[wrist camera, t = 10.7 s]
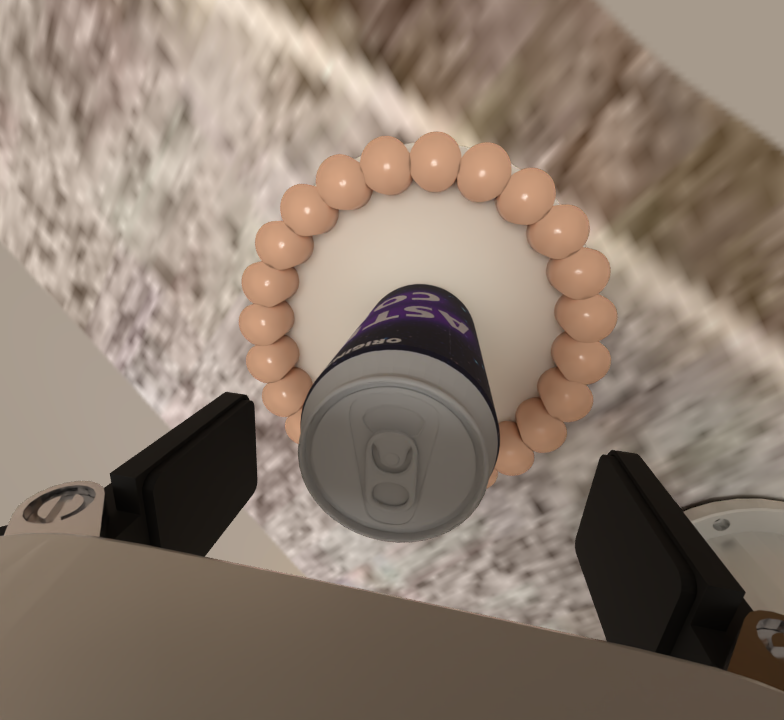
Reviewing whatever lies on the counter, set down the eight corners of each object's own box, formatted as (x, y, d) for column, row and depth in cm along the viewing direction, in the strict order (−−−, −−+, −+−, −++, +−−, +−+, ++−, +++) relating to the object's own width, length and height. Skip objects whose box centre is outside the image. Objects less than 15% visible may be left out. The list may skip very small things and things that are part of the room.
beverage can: (480, 284, 20) (523, 372, 9) (469, 387, 22) (491, 567, 11) (369, 278, 20) (275, 352, 9) (368, 378, 22) (288, 540, 11)
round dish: (639, 157, 18) (674, 146, 15) (551, 485, 24) (564, 520, 22) (257, 132, 20) (226, 118, 17) (269, 444, 26) (248, 471, 23)
